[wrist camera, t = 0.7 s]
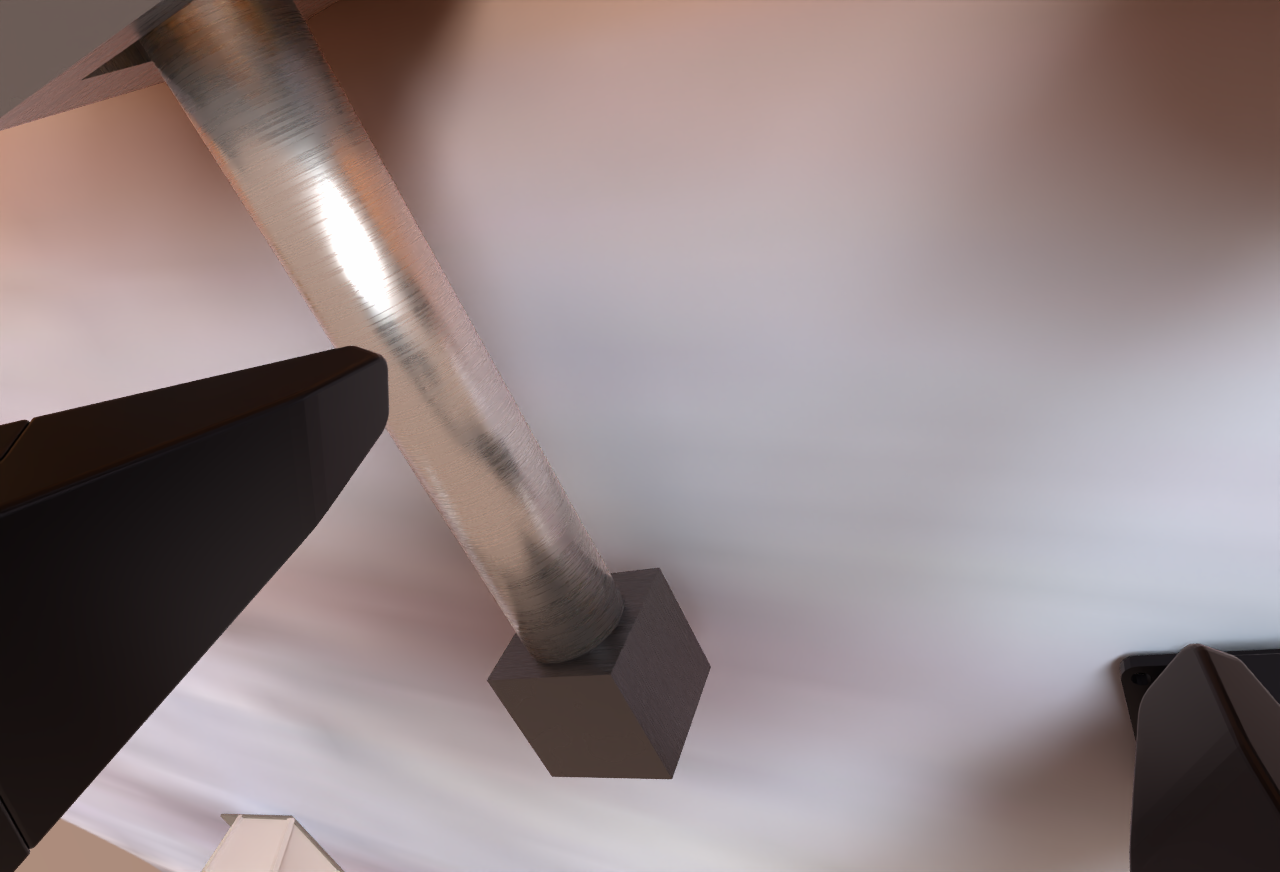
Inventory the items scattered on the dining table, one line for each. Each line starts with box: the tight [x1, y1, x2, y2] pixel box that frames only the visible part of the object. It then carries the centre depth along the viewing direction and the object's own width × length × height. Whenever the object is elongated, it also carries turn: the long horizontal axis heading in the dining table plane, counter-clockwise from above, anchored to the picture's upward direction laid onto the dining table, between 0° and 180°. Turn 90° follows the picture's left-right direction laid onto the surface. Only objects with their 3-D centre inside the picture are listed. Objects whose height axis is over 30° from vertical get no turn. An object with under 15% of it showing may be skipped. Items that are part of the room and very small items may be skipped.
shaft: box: [139, 0, 711, 779], centre depth 21 cm, size 22×4×4 cm, turn 25°
